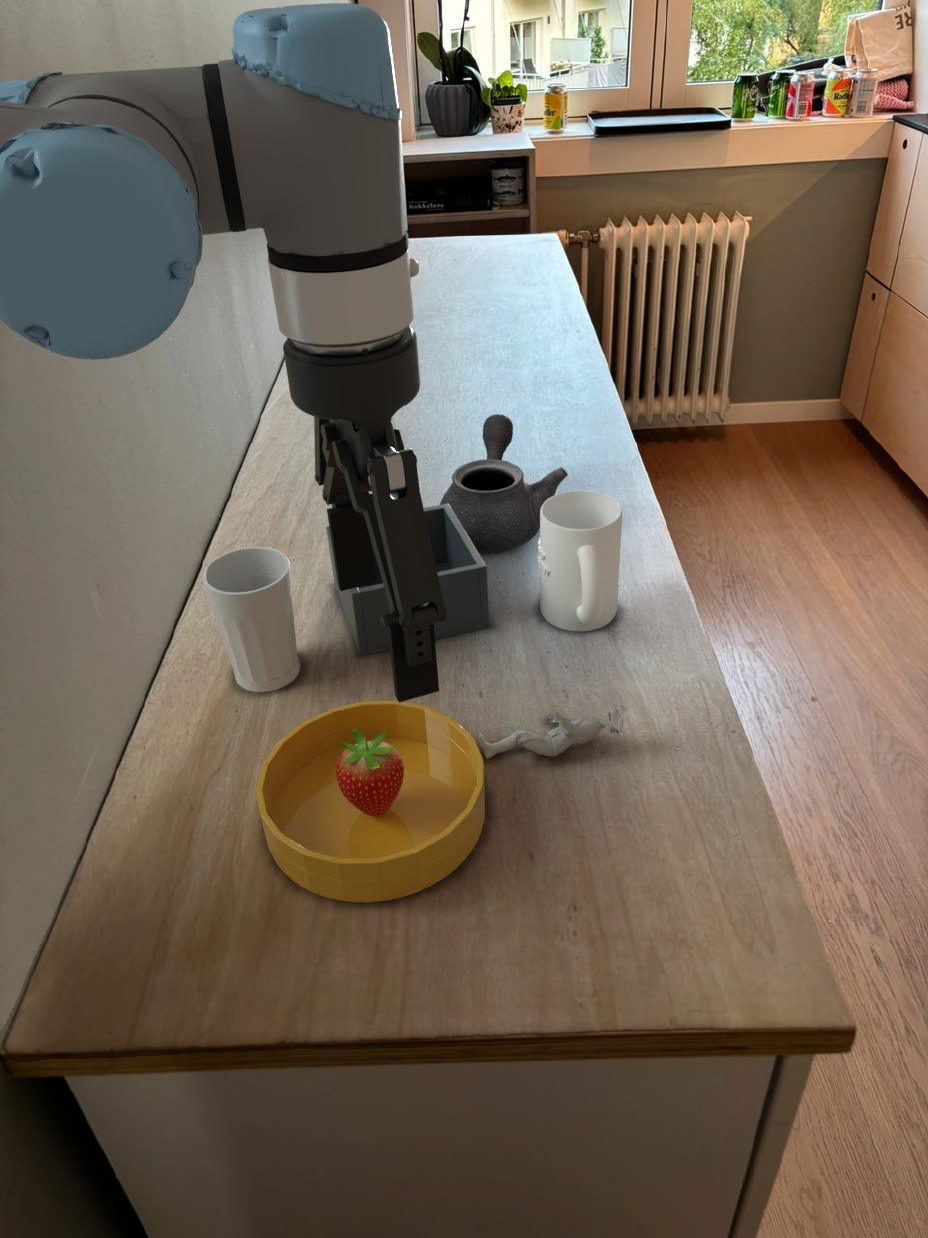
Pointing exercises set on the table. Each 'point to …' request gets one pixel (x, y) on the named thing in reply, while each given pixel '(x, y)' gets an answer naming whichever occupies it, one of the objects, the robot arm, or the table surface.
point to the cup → (255, 615)
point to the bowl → (359, 843)
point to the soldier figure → (555, 735)
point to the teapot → (498, 494)
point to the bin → (457, 578)
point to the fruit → (370, 774)
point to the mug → (579, 559)
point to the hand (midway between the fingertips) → (384, 635)
